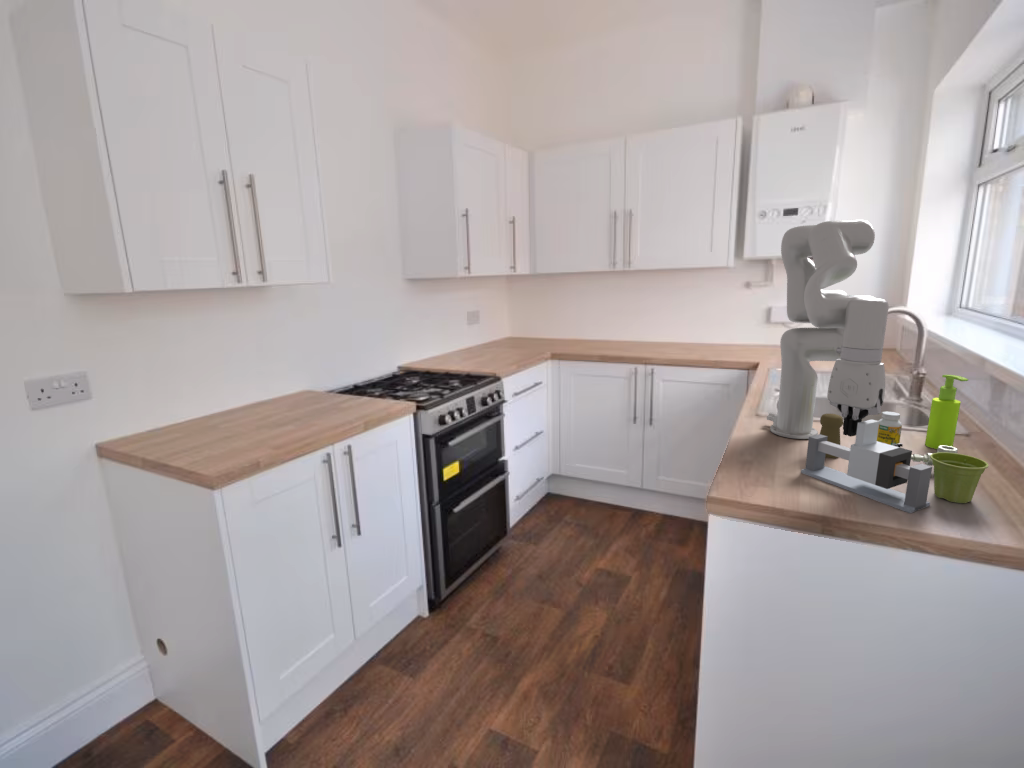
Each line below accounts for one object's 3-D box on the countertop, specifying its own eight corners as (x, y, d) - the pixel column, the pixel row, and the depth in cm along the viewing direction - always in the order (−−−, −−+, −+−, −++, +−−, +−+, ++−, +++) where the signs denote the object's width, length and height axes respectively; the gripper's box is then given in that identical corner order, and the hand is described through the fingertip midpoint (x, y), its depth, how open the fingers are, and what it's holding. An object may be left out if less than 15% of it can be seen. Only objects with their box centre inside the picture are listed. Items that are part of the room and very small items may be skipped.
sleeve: (847, 475, 115) (853, 423, 113) (866, 469, 118) (873, 418, 116) (875, 484, 110) (882, 430, 107) (895, 478, 113) (903, 425, 110)
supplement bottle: (900, 446, 142) (905, 412, 140) (896, 451, 138) (902, 417, 136) (876, 442, 145) (881, 409, 143) (872, 447, 142) (877, 413, 140)
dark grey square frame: (875, 484, 110) (879, 453, 108) (895, 478, 113) (899, 447, 111) (887, 489, 108) (891, 456, 106) (907, 482, 111) (912, 450, 109)
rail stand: (800, 472, 126) (804, 437, 124) (819, 467, 129) (823, 433, 127) (910, 513, 105) (916, 471, 103) (929, 505, 107) (936, 465, 106)
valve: (949, 470, 126) (890, 463, 130) (953, 444, 124) (893, 439, 129) (959, 480, 120) (897, 473, 124) (964, 453, 118) (901, 447, 123)
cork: (833, 459, 133) (838, 419, 131) (809, 453, 138) (814, 413, 136) (845, 455, 136) (850, 415, 134) (822, 448, 142) (826, 410, 139)
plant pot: (934, 504, 108) (940, 465, 106) (917, 486, 117) (923, 450, 115) (990, 510, 105) (998, 470, 103) (968, 491, 114) (975, 454, 112)
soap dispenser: (944, 452, 137) (957, 378, 132) (919, 444, 143) (930, 373, 139) (962, 450, 138) (975, 377, 133) (936, 442, 144) (948, 372, 140)
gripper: (817, 352, 118) (809, 428, 122) (887, 362, 105) (875, 447, 109) (838, 349, 121) (829, 424, 125) (908, 358, 108) (896, 441, 112)
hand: (850, 434), depth 117 cm, fingers closed
